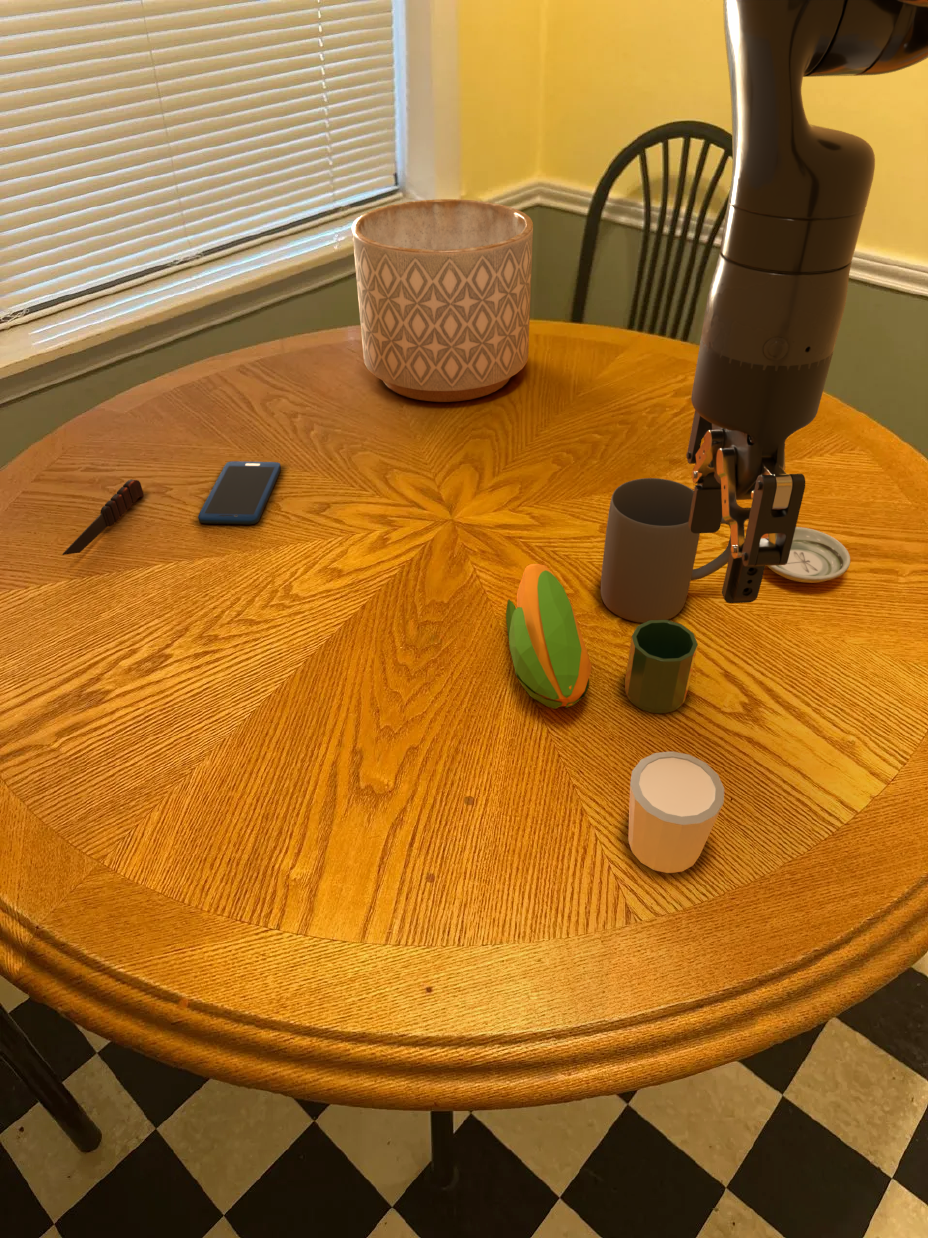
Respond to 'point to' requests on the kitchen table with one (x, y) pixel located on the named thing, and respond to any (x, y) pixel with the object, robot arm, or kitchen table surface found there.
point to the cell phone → (240, 493)
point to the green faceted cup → (660, 665)
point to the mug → (651, 550)
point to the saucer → (814, 557)
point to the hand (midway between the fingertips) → (719, 563)
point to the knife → (108, 514)
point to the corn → (547, 640)
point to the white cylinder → (672, 810)
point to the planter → (444, 296)
